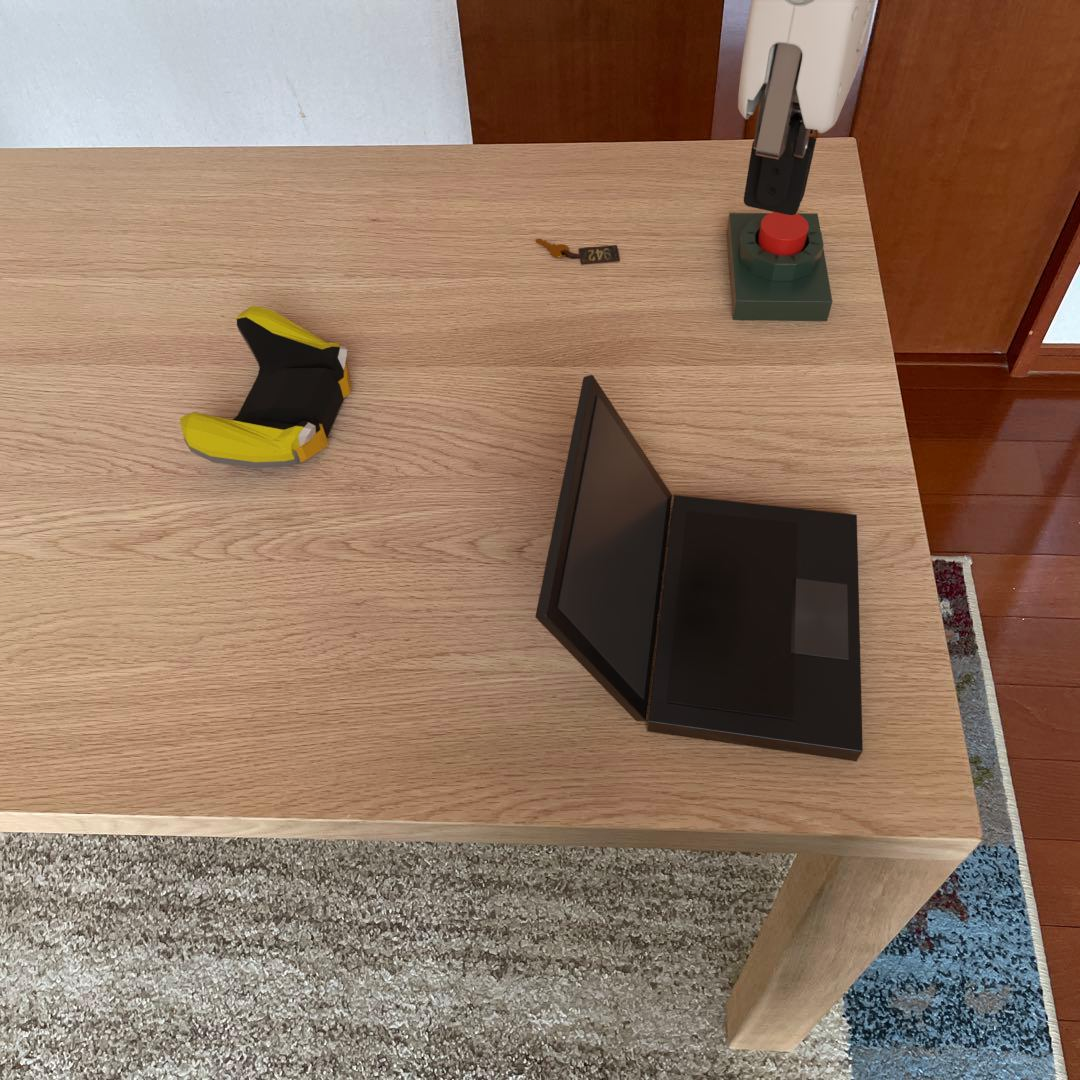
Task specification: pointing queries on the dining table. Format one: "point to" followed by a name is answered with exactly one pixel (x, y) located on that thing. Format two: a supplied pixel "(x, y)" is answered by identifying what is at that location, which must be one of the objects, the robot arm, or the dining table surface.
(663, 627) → the laptop
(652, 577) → the screen
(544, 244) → the key tag
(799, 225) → the power button
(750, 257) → the green base block
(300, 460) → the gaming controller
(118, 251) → the dining table surface
